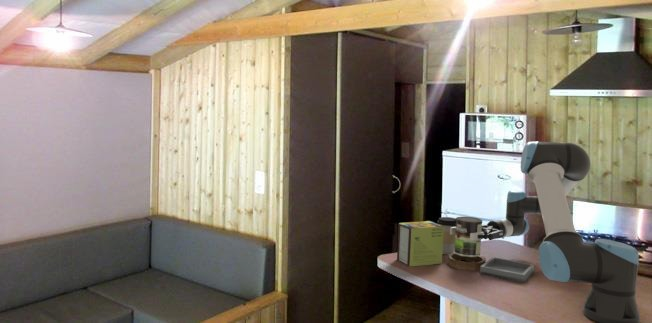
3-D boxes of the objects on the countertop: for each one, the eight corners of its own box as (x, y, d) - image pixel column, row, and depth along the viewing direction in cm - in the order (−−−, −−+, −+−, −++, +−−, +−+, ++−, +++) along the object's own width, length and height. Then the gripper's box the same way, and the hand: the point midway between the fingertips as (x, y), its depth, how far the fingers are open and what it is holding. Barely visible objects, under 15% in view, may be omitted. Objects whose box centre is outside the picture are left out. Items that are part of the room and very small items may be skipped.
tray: (523, 283, 183) (524, 275, 183) (480, 274, 192) (480, 266, 192) (533, 272, 197) (534, 264, 196) (492, 264, 205) (492, 257, 205)
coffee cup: (458, 256, 215) (460, 222, 213) (435, 254, 217) (437, 220, 215) (456, 250, 224) (458, 217, 223) (435, 249, 226) (437, 216, 225)
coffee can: (465, 258, 196) (467, 222, 195) (448, 251, 205) (450, 217, 204) (486, 255, 200) (488, 220, 199) (468, 249, 210) (470, 215, 208)
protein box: (442, 263, 204) (444, 226, 203) (409, 267, 199) (411, 228, 197) (428, 256, 214) (429, 220, 212) (396, 259, 208) (397, 222, 207)
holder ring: (478, 272, 194) (478, 265, 193) (443, 265, 202) (443, 258, 201) (489, 264, 205) (489, 257, 205) (455, 257, 213) (456, 250, 213)
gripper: (521, 244, 202) (482, 250, 191) (477, 232, 221) (440, 237, 210) (522, 225, 201) (483, 230, 190) (478, 215, 221) (440, 219, 209)
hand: (460, 234), depth 200 cm, fingers closed on coffee can, 10 cm apart
